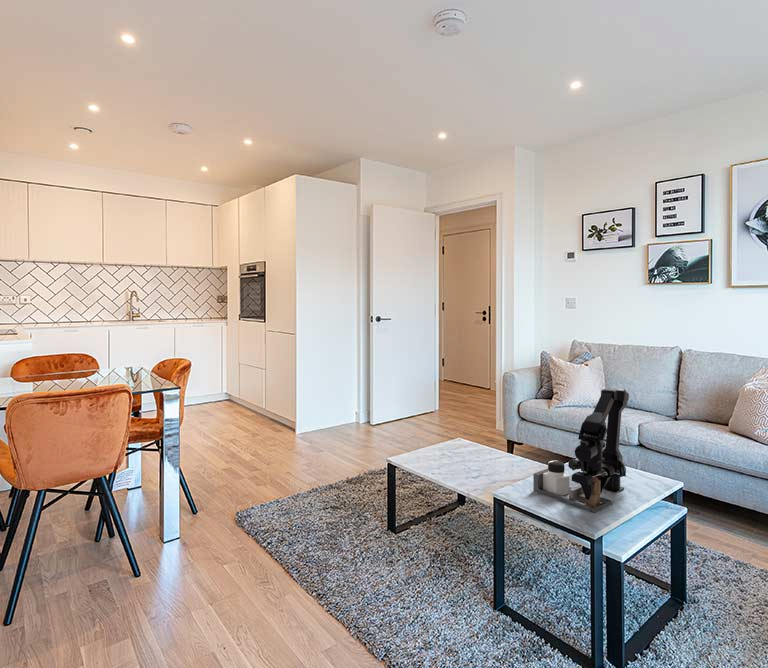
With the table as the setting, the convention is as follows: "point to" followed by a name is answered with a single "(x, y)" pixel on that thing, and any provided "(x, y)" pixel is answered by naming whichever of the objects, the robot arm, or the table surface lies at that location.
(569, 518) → the table surface
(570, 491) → the press carriage
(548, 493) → the frame
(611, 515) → the table surface
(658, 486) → the table surface
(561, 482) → the medicine bottle
